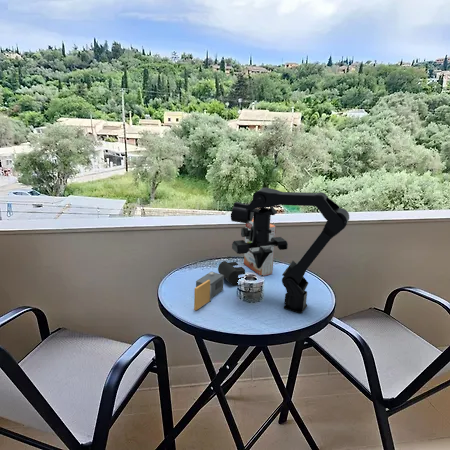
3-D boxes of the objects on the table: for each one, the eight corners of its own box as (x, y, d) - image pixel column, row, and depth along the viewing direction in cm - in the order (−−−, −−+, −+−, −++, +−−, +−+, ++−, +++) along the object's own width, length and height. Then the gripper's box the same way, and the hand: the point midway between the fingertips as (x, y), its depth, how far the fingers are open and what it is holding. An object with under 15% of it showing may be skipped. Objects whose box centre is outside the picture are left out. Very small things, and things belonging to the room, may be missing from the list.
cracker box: (242, 264, 182) (245, 217, 176) (254, 262, 185) (257, 216, 178) (260, 277, 170) (263, 227, 164) (272, 274, 173) (276, 225, 167)
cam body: (223, 289, 158) (224, 273, 156) (209, 300, 150) (209, 282, 148) (210, 286, 161) (211, 269, 159) (195, 296, 153) (196, 278, 150)
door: (209, 300, 150) (209, 278, 147) (211, 301, 149) (212, 279, 147) (193, 310, 143) (194, 288, 140) (196, 311, 142) (196, 288, 139)
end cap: (217, 277, 169) (217, 261, 167) (233, 274, 172) (234, 259, 170) (228, 287, 160) (229, 271, 158) (245, 284, 163) (245, 268, 161)
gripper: (275, 217, 154) (272, 257, 159) (227, 220, 148) (225, 262, 153) (290, 226, 144) (286, 268, 149) (239, 230, 138) (236, 274, 143)
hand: (258, 268), depth 149 cm, fingers closed
